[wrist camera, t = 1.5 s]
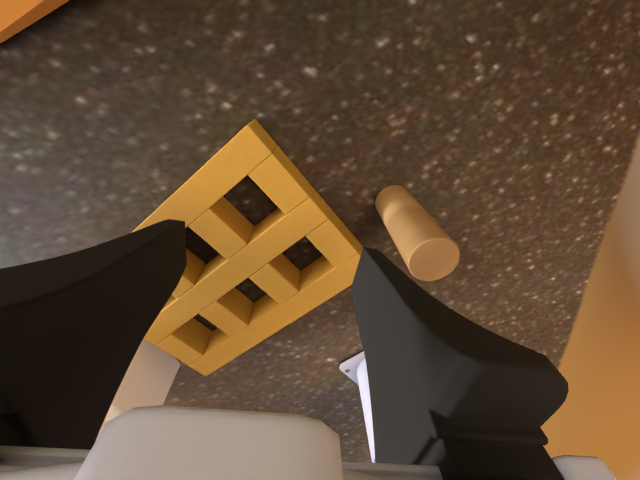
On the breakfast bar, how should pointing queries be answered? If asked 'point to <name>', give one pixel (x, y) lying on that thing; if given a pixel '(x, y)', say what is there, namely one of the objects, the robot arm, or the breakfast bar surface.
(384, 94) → the breakfast bar surface
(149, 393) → the medicine bottle
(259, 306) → the peg block
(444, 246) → the peg
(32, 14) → the carrot
